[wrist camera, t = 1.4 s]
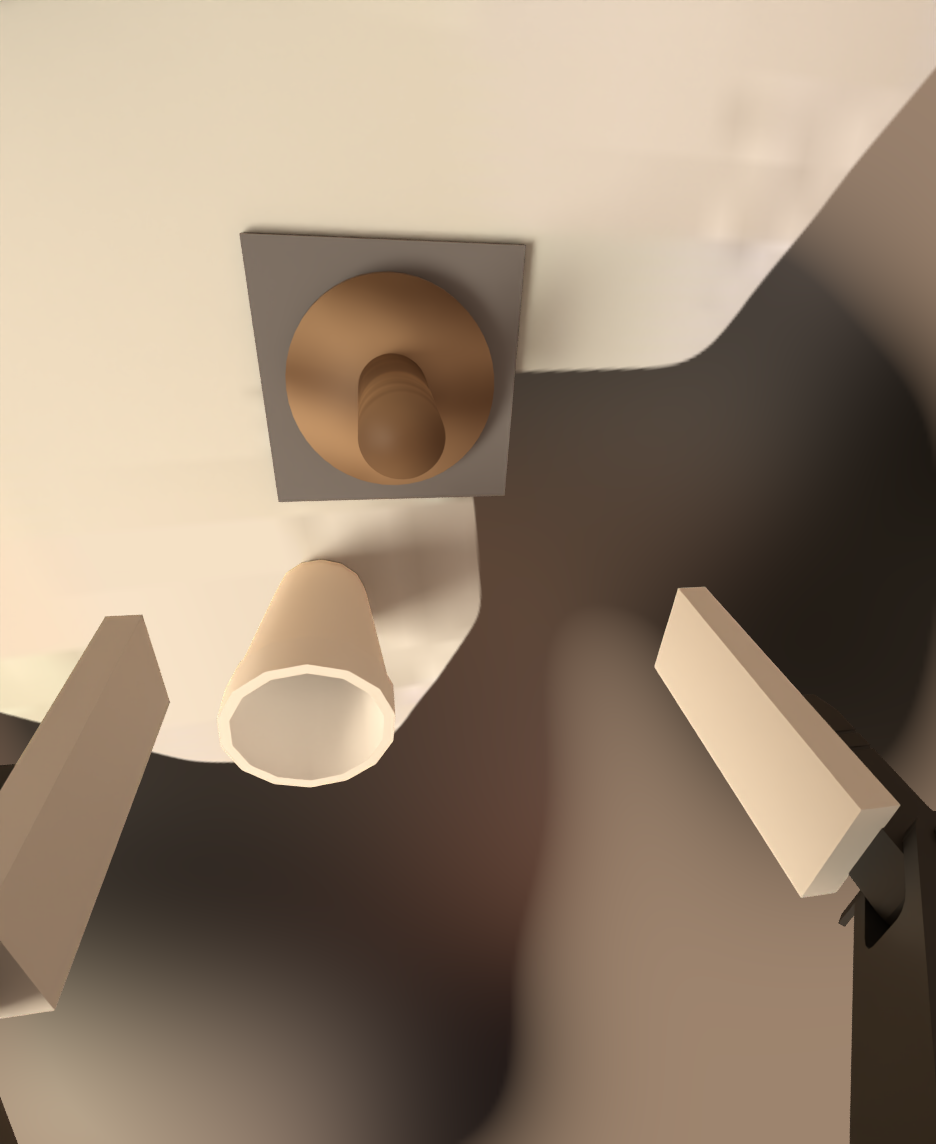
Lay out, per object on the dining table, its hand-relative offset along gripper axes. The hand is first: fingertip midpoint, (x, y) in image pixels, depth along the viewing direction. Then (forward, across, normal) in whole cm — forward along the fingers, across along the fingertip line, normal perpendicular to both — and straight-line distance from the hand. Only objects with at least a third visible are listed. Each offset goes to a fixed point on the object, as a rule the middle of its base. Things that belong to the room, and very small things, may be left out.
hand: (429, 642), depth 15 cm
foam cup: (+25, -5, -15) cm, 29 cm away
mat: (+24, 0, 0) cm, 25 cm away
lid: (+24, 0, 0) cm, 24 cm away
